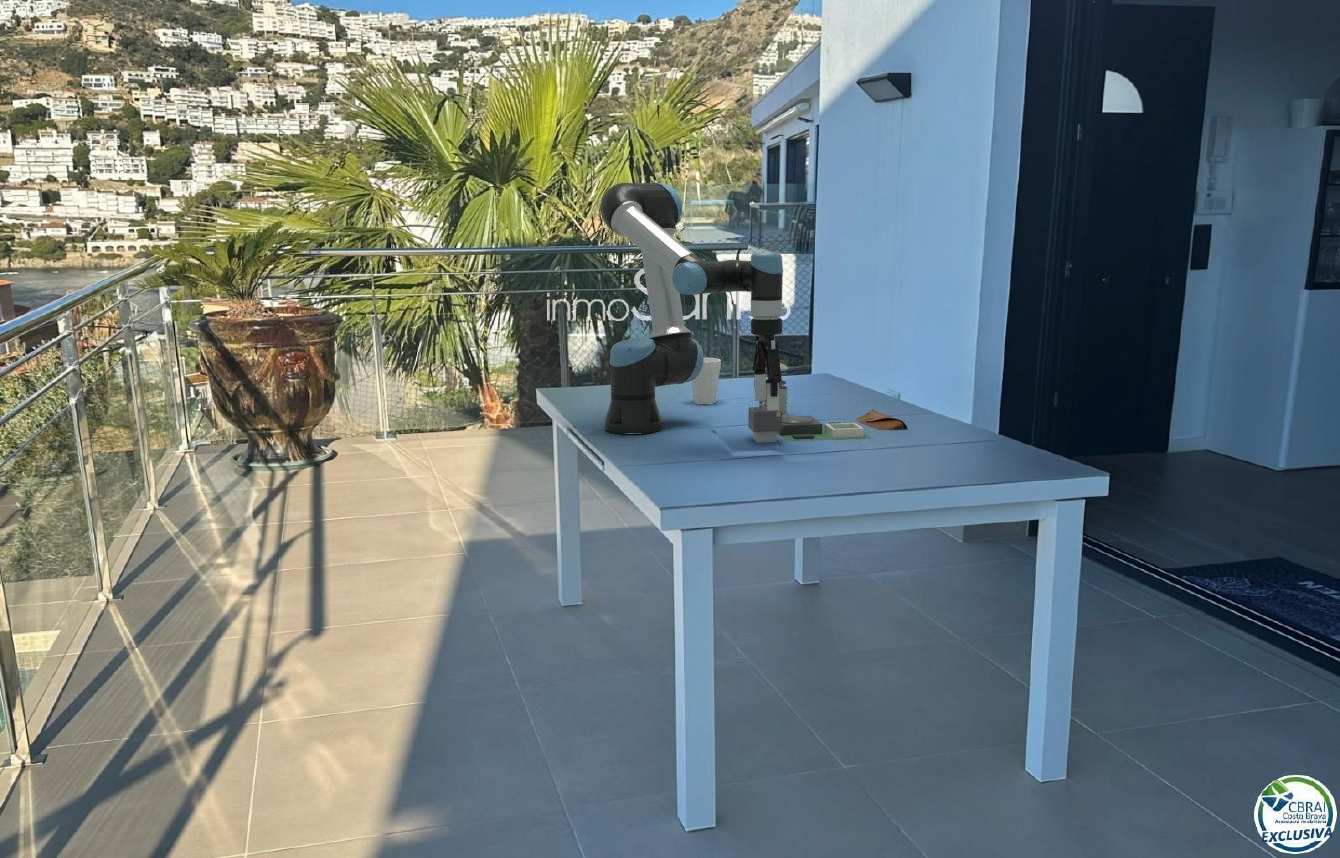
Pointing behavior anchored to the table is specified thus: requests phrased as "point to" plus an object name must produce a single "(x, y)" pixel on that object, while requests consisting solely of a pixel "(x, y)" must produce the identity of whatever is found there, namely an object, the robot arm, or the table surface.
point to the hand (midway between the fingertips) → (766, 405)
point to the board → (818, 436)
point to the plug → (764, 423)
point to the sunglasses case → (881, 421)
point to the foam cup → (707, 381)
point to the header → (844, 430)
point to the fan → (800, 425)
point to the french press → (781, 393)
